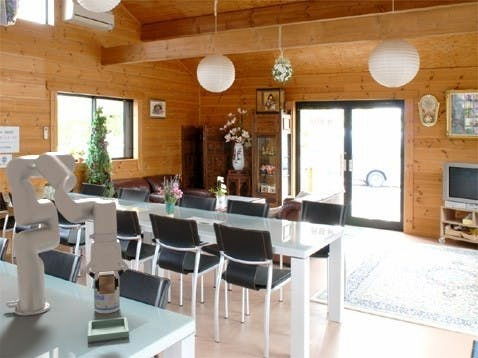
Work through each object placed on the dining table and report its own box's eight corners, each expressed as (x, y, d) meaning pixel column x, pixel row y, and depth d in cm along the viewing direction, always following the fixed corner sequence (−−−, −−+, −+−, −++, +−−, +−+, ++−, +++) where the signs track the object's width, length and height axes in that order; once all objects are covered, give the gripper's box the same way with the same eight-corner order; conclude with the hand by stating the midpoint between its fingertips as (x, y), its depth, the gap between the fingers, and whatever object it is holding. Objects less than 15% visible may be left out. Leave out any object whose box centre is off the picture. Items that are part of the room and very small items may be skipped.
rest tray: (88, 343, 154) (87, 335, 154) (88, 328, 167) (88, 320, 167) (128, 338, 158) (128, 331, 158) (126, 323, 171) (126, 316, 170)
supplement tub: (89, 312, 182) (88, 275, 181) (104, 304, 191) (103, 268, 189) (110, 315, 178) (109, 277, 177) (125, 307, 187) (124, 271, 186)
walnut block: (99, 294, 158) (98, 277, 158) (99, 290, 163) (98, 272, 162) (114, 293, 159) (114, 275, 159) (114, 288, 164) (114, 271, 164)
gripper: (78, 241, 154) (80, 295, 155) (132, 237, 158) (133, 290, 160) (79, 236, 161) (81, 288, 162) (130, 233, 166) (131, 284, 167)
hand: (107, 289), depth 161 cm, fingers closed on walnut block, 5 cm apart
